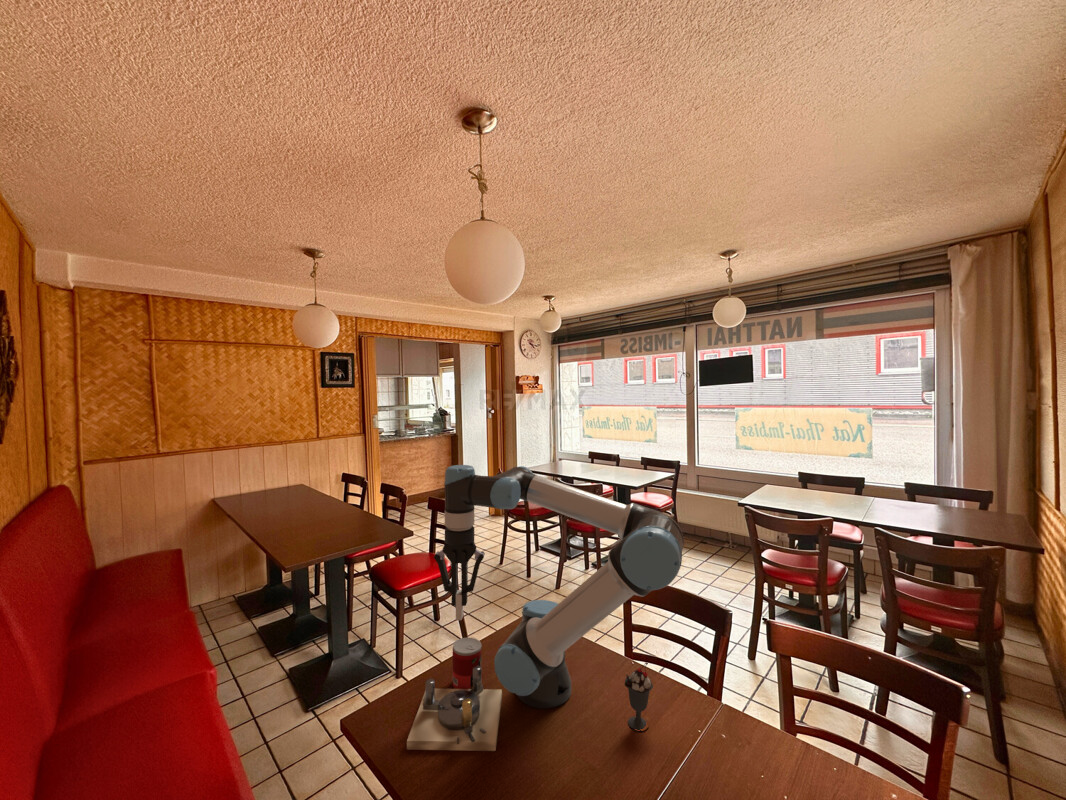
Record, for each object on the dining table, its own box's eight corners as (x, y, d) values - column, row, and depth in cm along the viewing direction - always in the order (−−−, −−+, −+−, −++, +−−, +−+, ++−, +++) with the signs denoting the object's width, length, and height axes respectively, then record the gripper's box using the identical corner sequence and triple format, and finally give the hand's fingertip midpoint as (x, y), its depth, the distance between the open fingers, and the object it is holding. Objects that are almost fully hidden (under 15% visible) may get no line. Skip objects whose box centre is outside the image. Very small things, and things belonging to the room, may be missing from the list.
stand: (501, 697, 117) (501, 683, 117) (495, 753, 98) (495, 738, 98) (426, 695, 117) (426, 682, 117) (405, 752, 99) (405, 736, 99)
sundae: (657, 723, 108) (658, 663, 107) (643, 739, 103) (644, 676, 103) (633, 710, 112) (634, 652, 112) (619, 724, 107) (620, 663, 107)
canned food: (476, 696, 117) (476, 655, 117) (447, 691, 119) (448, 651, 118) (485, 677, 125) (485, 639, 124) (458, 673, 126) (458, 635, 126)
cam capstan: (421, 708, 109) (421, 680, 109) (481, 690, 116) (481, 663, 116) (435, 748, 97) (435, 716, 97) (500, 725, 104) (501, 695, 104)
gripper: (486, 522, 117) (486, 610, 117) (437, 521, 117) (437, 610, 117) (483, 531, 109) (483, 625, 110) (430, 530, 109) (430, 625, 110)
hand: (459, 617), depth 114 cm, fingers closed
